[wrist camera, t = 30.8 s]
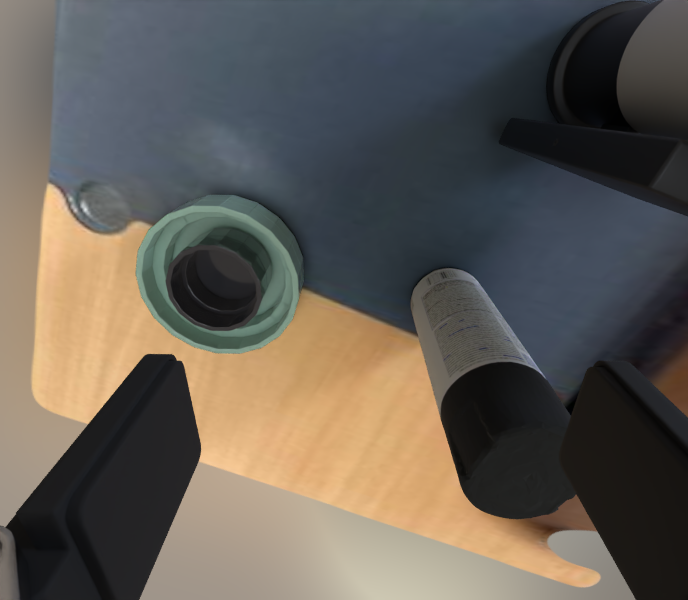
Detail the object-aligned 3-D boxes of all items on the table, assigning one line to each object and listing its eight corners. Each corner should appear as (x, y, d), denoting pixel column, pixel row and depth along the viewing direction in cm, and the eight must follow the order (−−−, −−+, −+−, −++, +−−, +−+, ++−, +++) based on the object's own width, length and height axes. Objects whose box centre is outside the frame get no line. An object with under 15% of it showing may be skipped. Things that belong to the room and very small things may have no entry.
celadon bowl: (146, 192, 34) (118, 205, 30) (301, 193, 33) (294, 206, 29) (175, 326, 39) (154, 352, 35) (307, 328, 39) (302, 354, 35)
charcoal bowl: (182, 225, 34) (157, 244, 30) (269, 226, 34) (256, 245, 30) (196, 303, 37) (175, 330, 33) (275, 304, 37) (265, 331, 33)
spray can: (397, 315, 38) (434, 504, 20) (430, 253, 35) (508, 409, 18) (458, 338, 39) (546, 538, 21) (495, 279, 36) (632, 453, 19)
